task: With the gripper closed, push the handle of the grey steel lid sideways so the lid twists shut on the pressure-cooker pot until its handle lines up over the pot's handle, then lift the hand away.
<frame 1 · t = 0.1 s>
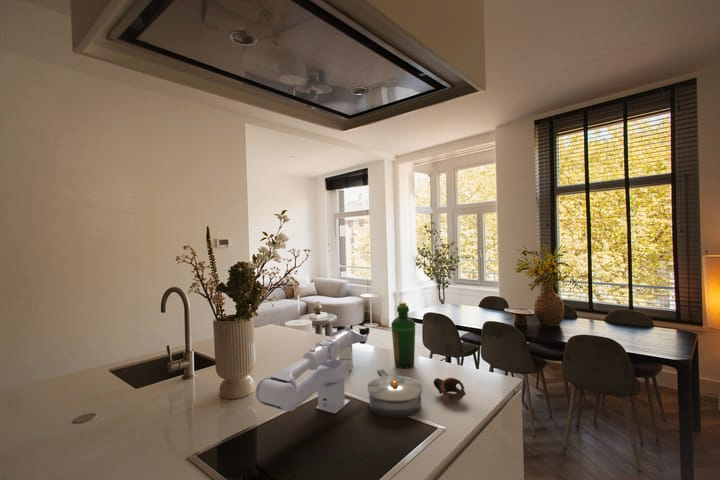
hand: (360, 329, 136), 22 cm above the kitchen island, tool horizontal, fingers open, 7 cm apart
cooker lid: (391, 381, 121), point 7 cm above the kitchen island, hinge at 40.0°
bottle: (404, 366, 154), on the kitchen island
cooker pot: (395, 404, 118), on the kitchen island
syrup box: (346, 368, 152), on the kitchen island
pottery mug: (449, 398, 122), on the kitchen island
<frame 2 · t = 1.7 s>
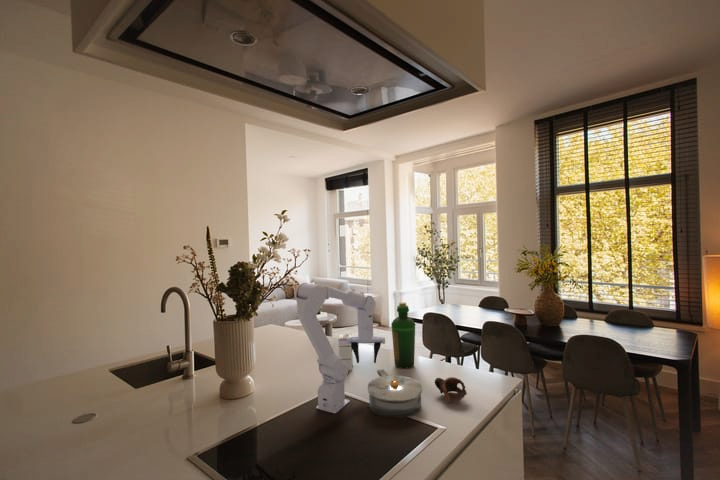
hand: (366, 362, 130), 10 cm above the kitchen island, tool pointing down, fingers open, 6 cm apart
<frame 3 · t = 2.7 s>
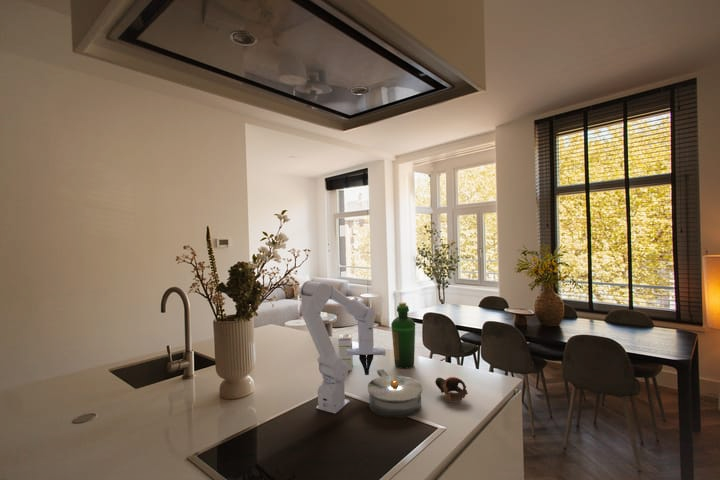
hand: (367, 374, 130), 6 cm above the kitchen island, tool pointing down, fingers closed
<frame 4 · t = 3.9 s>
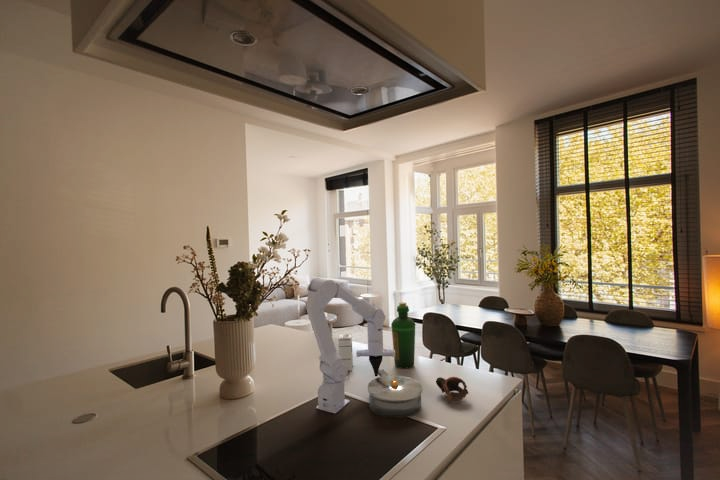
hand: (376, 375, 130), 5 cm above the kitchen island, tool pointing down, fingers closed
cooker lid: (391, 381, 121), point 7 cm above the kitchen island, hinge at 39.8°, touching gripper
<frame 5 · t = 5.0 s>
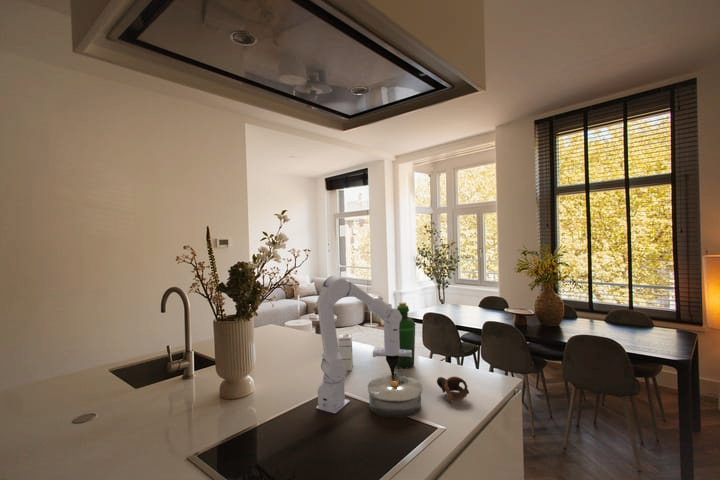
hand: (392, 375, 130), 5 cm above the kitchen island, tool pointing down, fingers closed
cooker lid: (395, 381, 121), point 7 cm above the kitchen island, hinge at 12.9°, touching gripper
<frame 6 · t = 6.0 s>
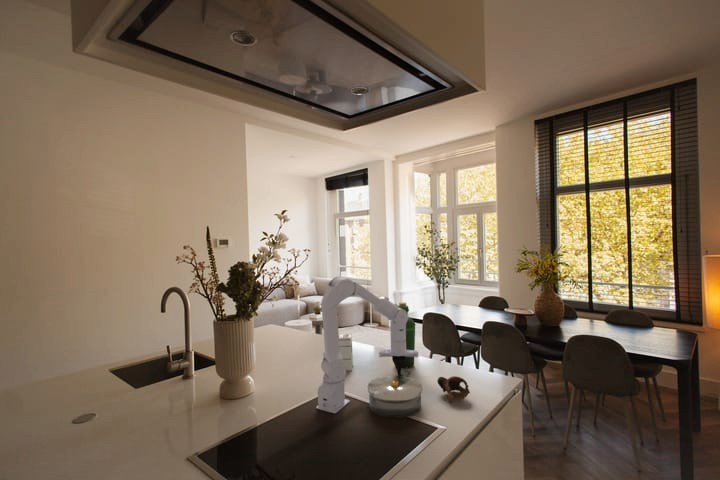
hand: (399, 375, 129), 5 cm above the kitchen island, tool pointing down, fingers closed
cooker lid: (397, 381, 121), point 7 cm above the kitchen island, hinge at -0.2°, touching gripper
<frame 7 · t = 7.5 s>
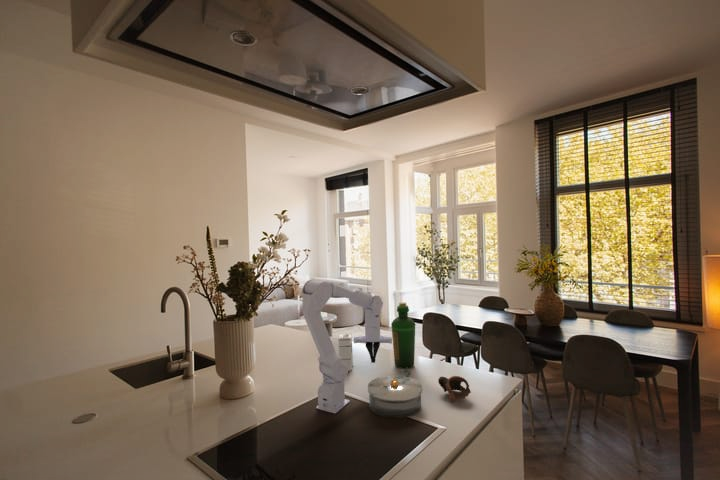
hand: (373, 361, 131), 10 cm above the kitchen island, tool pointing down, fingers closed
cooker lid: (397, 381, 121), point 7 cm above the kitchen island, hinge at -0.2°
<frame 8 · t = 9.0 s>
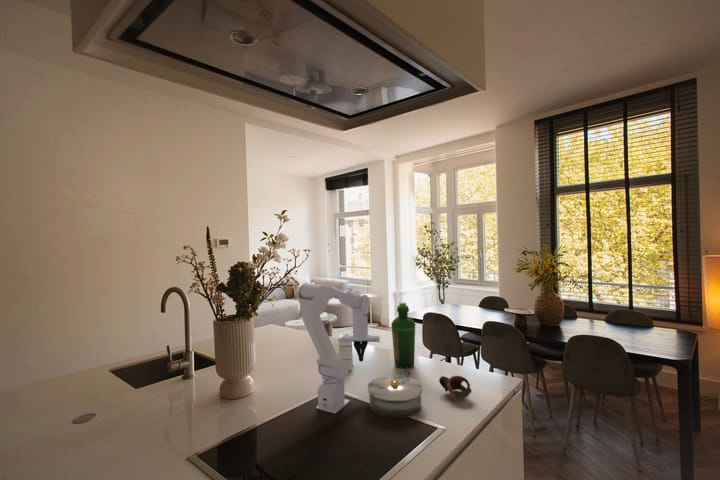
hand: (361, 360, 132), 10 cm above the kitchen island, tool pointing down, fingers closed
at the end: cooker lid at +0° (first picture: +40°) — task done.
